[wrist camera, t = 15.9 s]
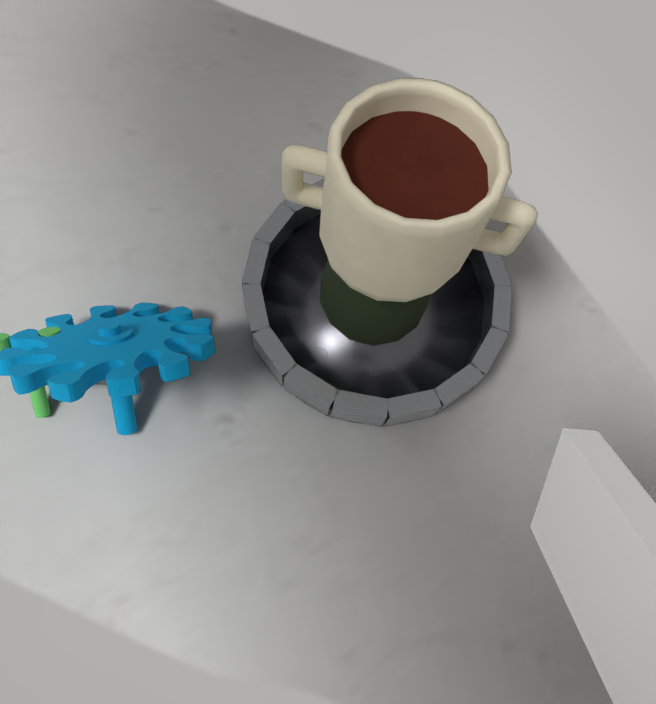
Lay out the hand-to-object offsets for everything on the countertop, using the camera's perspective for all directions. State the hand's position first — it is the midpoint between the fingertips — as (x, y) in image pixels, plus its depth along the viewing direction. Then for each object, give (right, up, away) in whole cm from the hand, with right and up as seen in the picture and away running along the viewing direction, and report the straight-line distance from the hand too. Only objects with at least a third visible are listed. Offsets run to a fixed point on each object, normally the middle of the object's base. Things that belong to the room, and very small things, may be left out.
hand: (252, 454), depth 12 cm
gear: (-10, +1, +19) cm, 22 cm away
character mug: (+4, +5, +21) cm, 22 cm away
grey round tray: (+4, +5, +22) cm, 23 cm away
